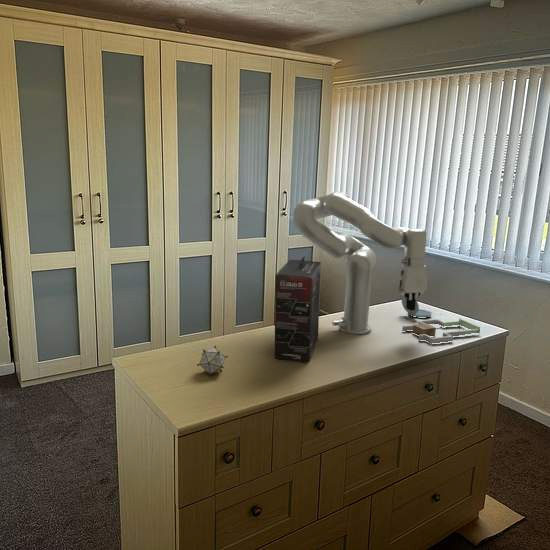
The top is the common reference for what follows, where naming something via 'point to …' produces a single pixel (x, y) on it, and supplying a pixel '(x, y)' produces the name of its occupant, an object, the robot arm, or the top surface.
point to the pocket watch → (417, 311)
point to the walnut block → (424, 329)
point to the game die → (212, 360)
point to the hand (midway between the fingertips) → (410, 309)
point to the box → (446, 335)
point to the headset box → (297, 310)
